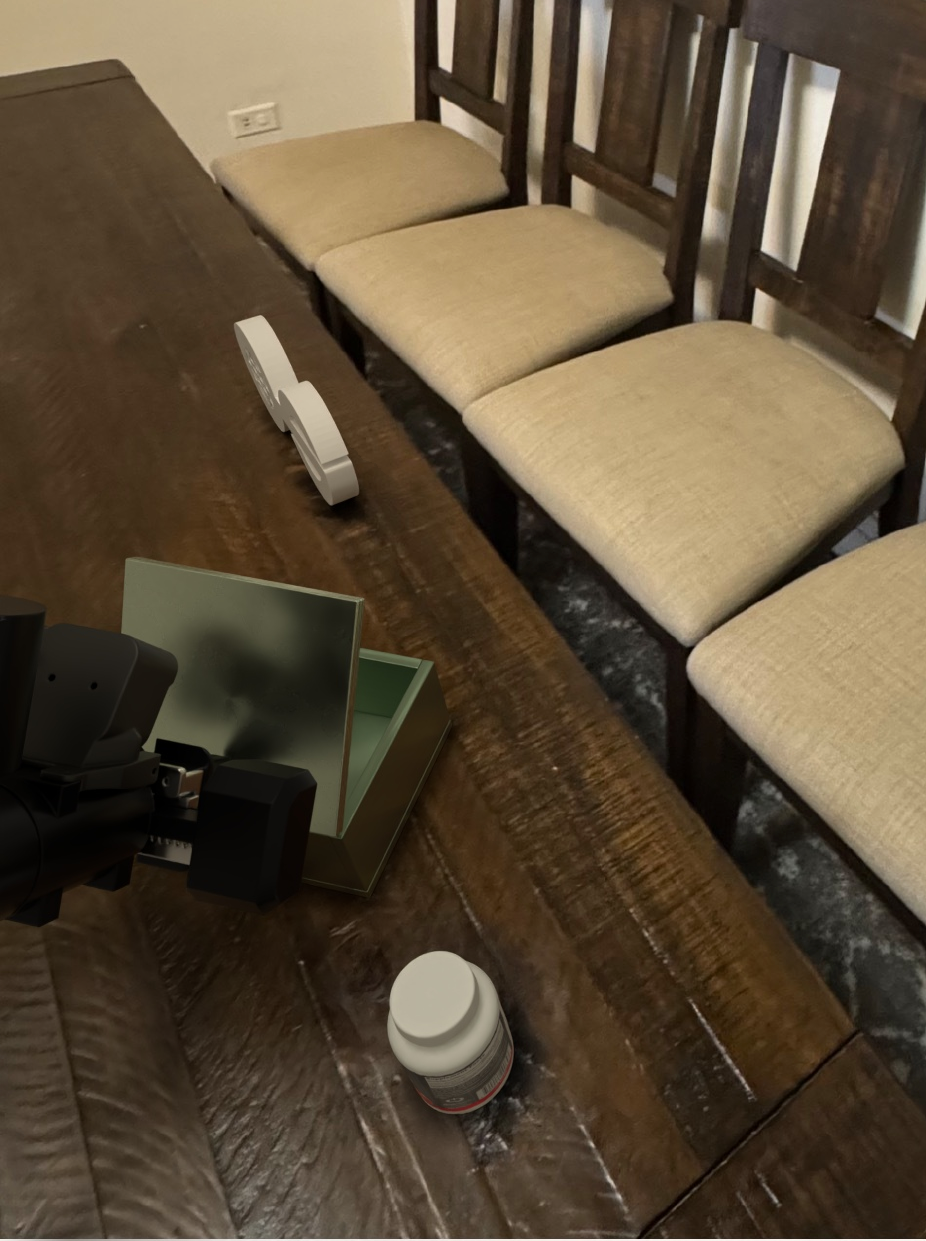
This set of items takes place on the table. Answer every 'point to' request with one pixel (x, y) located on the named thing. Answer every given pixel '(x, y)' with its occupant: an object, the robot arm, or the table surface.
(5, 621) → the robot arm
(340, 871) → the bin
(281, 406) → the letter
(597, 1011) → the table surface
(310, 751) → the bin lid
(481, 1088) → the pill bottle
